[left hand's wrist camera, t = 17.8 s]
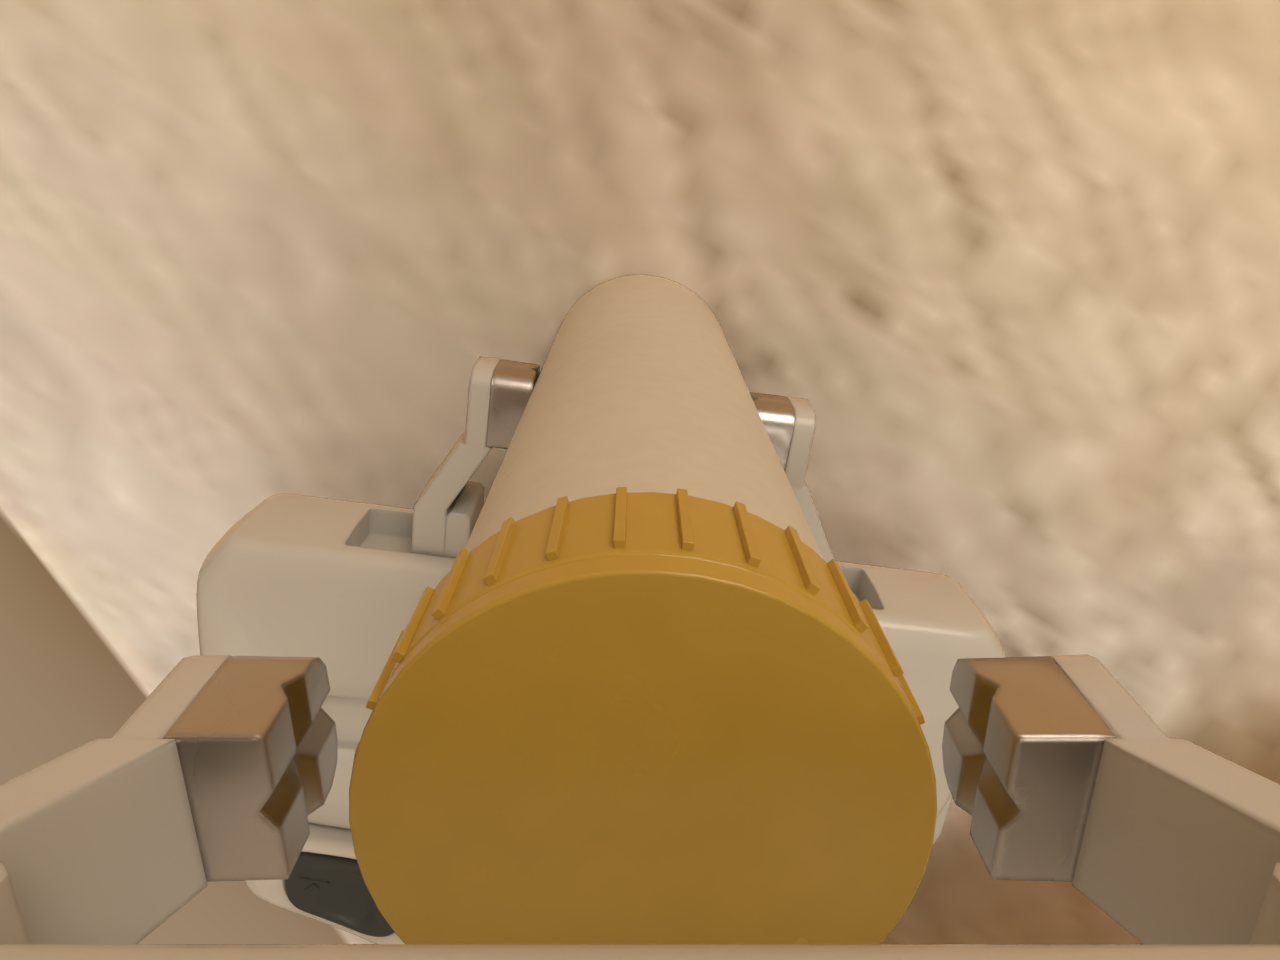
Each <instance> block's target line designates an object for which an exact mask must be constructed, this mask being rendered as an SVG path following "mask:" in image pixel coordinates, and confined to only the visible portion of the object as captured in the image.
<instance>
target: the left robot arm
mask: <svg viewBox="0 0 1280 960" xmlns="http://www.w3.org/2000/svg"><path fill="white" fill-rule="evenodd" d="M949 690H950V692H951V694H952V695H953V697H954V699H955V701H956V703H957V705H958V706H959V708H958V709H957V710H956V711H955V712H954V713H953V714H952V715H951V716H950V717H949V718H948V719H947V720H946V721H945V723H944V733H943V742H942V754H943V767H944V773H945V777H946V781H947V784H948V788H949V790H950V792H951V795H952V797H953V799H954V801H955V803H956V805H957V806H959V807H960V808H962V809H963V810H965V811H966V812H968V813H969V814H970V815H972V822H971V829H970V835H971V837H972V839H973V841H974V843H975V845H976V847H977V849H978V851H979V853H980V855H981V858H982V860H983V862H984V864H985V866H986V868H987V870H988V872H989V874H990V876H991V878H992V879H998V880H1034V881H1070V882H1073V883H1072V886H1074V887H1075V888H1076V889H1077V890H1079V891H1080V892H1081V893H1082V894H1083V895H1085V896H1086V897H1087V898H1088V899H1089V900H1091V901H1092V902H1093V903H1094V904H1095V905H1097V906H1098V907H1099V908H1100V909H1101V910H1103V911H1104V912H1105V913H1106V914H1107V915H1109V916H1110V917H1111V918H1112V919H1113V920H1115V921H1116V922H1117V923H1118V924H1119V925H1121V926H1122V927H1123V928H1124V929H1126V930H1127V931H1128V932H1129V933H1130V934H1132V935H1133V936H1134V937H1135V938H1136V939H1138V940H1139V941H1140V942H1141V943H1142V944H138V943H139V942H140V941H141V940H143V939H144V938H145V937H146V936H147V935H149V934H150V933H151V932H152V931H153V930H155V929H156V928H157V927H158V926H159V925H161V924H162V923H163V922H164V921H166V920H167V919H168V918H169V917H170V916H172V915H173V914H174V913H175V912H176V911H178V910H179V909H180V908H181V907H182V906H184V905H185V904H186V903H187V902H189V901H190V900H191V899H192V898H193V897H195V896H196V895H197V894H198V893H199V892H200V891H202V890H203V889H204V888H205V887H207V882H210V881H245V880H280V879H288V878H289V876H290V874H291V872H292V870H293V868H294V866H295V864H296V862H297V859H298V857H299V855H300V853H301V851H302V849H303V847H304V845H305V843H306V841H307V839H308V837H309V835H310V829H309V823H308V815H309V814H311V813H312V812H314V811H315V810H317V809H318V808H320V807H321V806H322V805H324V803H325V801H326V799H327V797H328V794H329V792H330V790H331V788H332V785H333V780H334V775H335V770H336V765H337V755H338V739H337V732H336V724H335V722H334V720H333V719H332V718H331V717H330V716H329V715H328V714H327V713H326V712H325V711H324V710H323V709H322V708H321V706H322V704H323V703H324V701H325V699H326V697H327V695H328V693H329V692H330V684H329V679H328V673H327V668H326V665H325V664H324V662H323V661H322V660H321V659H320V658H319V657H280V656H231V655H201V656H190V657H186V658H183V659H182V660H181V661H180V662H179V663H178V664H177V665H176V666H175V668H174V669H173V670H172V671H171V672H170V673H169V674H168V675H167V677H166V678H165V679H164V680H163V681H162V682H161V683H160V684H159V685H158V687H157V688H156V689H155V690H154V691H153V692H152V693H151V694H150V695H149V697H148V698H147V699H146V700H145V701H144V702H143V703H142V704H141V706H140V707H139V708H138V709H137V710H136V711H135V712H134V713H133V714H132V715H131V717H130V718H129V719H128V720H127V721H126V722H125V723H124V724H123V726H122V727H121V728H120V729H119V730H118V731H117V732H116V733H115V734H114V736H113V737H112V738H111V739H95V740H93V741H91V742H89V743H86V744H84V745H82V746H80V747H78V748H76V749H74V750H72V751H70V752H67V753H65V754H63V755H61V756H59V757H57V758H55V759H53V760H51V761H49V762H46V763H44V764H42V765H40V766H38V767H36V768H34V769H32V770H30V771H28V772H25V773H23V774H21V775H19V776H17V777H15V778H13V779H11V780H9V781H6V782H4V783H2V784H0V960H1280V785H1279V784H1277V783H1275V782H1273V781H1271V780H1269V779H1267V778H1265V777H1263V776H1261V775H1258V774H1256V773H1254V772H1252V771H1250V770H1248V769H1246V768H1244V767H1242V766H1240V765H1237V764H1235V763H1233V762H1231V761H1229V760H1227V759H1225V758H1223V757H1221V756H1219V755H1217V754H1214V753H1212V752H1210V751H1208V750H1206V749H1204V748H1202V747H1200V746H1198V745H1196V744H1193V743H1191V742H1189V741H1187V740H1185V739H1169V738H1168V737H1167V736H1166V735H1165V733H1164V732H1163V731H1162V730H1161V729H1160V728H1159V727H1158V726H1157V725H1156V723H1155V722H1154V721H1153V720H1152V719H1151V718H1150V717H1149V716H1148V715H1147V713H1146V712H1145V711H1144V710H1143V709H1142V708H1141V707H1140V706H1139V704H1138V703H1137V702H1136V701H1135V700H1134V699H1133V698H1132V697H1131V696H1130V694H1129V693H1128V692H1127V691H1126V690H1125V689H1124V688H1123V687H1122V686H1121V684H1120V683H1119V682H1118V681H1117V680H1116V679H1115V678H1114V677H1113V675H1112V674H1111V673H1110V672H1109V671H1108V670H1107V669H1106V668H1105V667H1104V665H1103V664H1102V663H1101V662H1100V661H1099V660H1098V659H1096V658H1094V657H1092V656H1089V655H1066V656H1044V657H1005V658H966V659H957V661H956V664H955V666H954V668H953V671H952V677H951V683H950V689H949Z"/></svg>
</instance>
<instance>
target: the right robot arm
mask: <svg viewBox="0 0 1280 960" xmlns="http://www.w3.org/2000/svg"><path fill="white" fill-rule="evenodd" d="M539 375H540V365H537V364H530V363H523V362H517V361H510V360H503V359H500V358H490V357H480V358H479V359H478V360H477V362H476V363H475V364H474V366H473V368H472V373H471V378H470V383H469V390H468V404H467V419H466V431H465V433H464V434H463V435H462V437H461V438H460V439H459V441H458V442H457V443H456V445H455V446H454V448H453V449H452V450H451V452H450V453H449V454H448V456H447V457H446V459H445V460H444V461H443V463H442V464H441V465H440V467H439V468H438V470H437V471H436V472H435V474H434V475H433V476H432V478H431V480H430V481H429V483H428V484H427V486H426V488H425V489H424V491H423V492H422V494H421V496H420V497H419V499H418V500H417V502H416V504H415V505H414V508H413V509H409V508H401V507H393V506H385V505H376V504H368V503H360V502H352V501H344V500H336V499H328V498H320V497H312V496H305V495H297V494H276V495H273V496H270V497H269V498H267V499H265V500H264V501H263V502H261V503H260V504H259V505H258V506H257V507H255V508H254V509H253V510H252V511H250V512H249V513H248V514H247V515H245V516H244V517H243V518H242V519H240V520H239V521H238V522H237V523H236V524H235V525H234V526H232V527H231V528H230V529H229V530H228V532H227V533H226V534H225V535H224V536H223V537H222V538H221V539H220V540H219V541H218V542H217V544H216V545H215V546H214V547H213V548H212V550H211V551H210V552H209V554H208V555H207V557H206V559H205V560H204V562H203V564H202V567H201V569H200V572H199V575H198V582H197V618H198V633H199V644H200V654H201V655H231V656H280V657H319V658H320V659H321V660H322V661H323V662H324V664H325V665H326V668H327V673H328V679H329V684H330V692H329V693H328V695H327V697H326V699H325V701H324V703H323V704H322V706H321V708H322V709H323V710H324V711H325V712H326V713H327V714H328V715H329V716H330V717H331V718H332V719H333V720H334V722H335V724H336V732H337V739H338V755H337V765H336V770H335V775H334V780H333V785H332V788H331V790H330V792H329V794H328V797H327V799H326V801H325V803H324V805H322V806H321V807H320V808H318V809H317V810H315V811H314V812H312V813H311V814H309V815H308V823H309V829H310V835H309V837H308V839H307V841H306V843H305V845H304V847H303V849H302V851H301V853H300V855H299V857H298V859H297V862H296V864H295V866H294V868H293V870H292V872H291V874H290V876H289V878H288V879H280V880H245V882H246V885H247V886H248V888H249V889H250V890H251V892H253V893H254V894H255V895H256V896H257V897H259V898H260V899H262V900H264V901H266V902H268V903H271V904H273V905H275V906H278V907H281V908H284V909H286V910H289V911H292V912H295V913H298V914H301V915H304V916H307V917H310V918H312V919H315V920H318V921H321V922H323V923H326V924H329V925H331V926H334V927H337V928H339V929H342V930H344V931H347V932H349V933H352V934H354V935H357V936H359V937H362V938H364V939H366V940H369V941H371V942H373V943H375V944H404V943H403V941H402V940H401V939H400V938H399V937H398V936H397V935H396V933H395V932H394V931H393V929H392V928H391V926H390V925H389V924H388V922H387V921H386V920H385V918H384V917H383V915H382V914H381V913H380V911H379V910H378V908H377V906H376V904H375V902H374V900H373V898H372V896H371V894H370V892H369V890H368V888H367V886H366V885H365V882H364V879H363V877H362V874H361V871H360V868H359V865H358V862H357V859H356V856H355V852H354V847H353V841H352V835H351V829H350V824H349V787H350V780H351V774H352V768H353V761H354V756H355V750H356V748H357V745H358V743H359V741H360V739H361V736H362V733H363V730H364V728H365V725H366V723H367V721H368V719H369V717H370V715H371V713H372V711H373V710H371V709H368V708H366V705H367V702H368V699H369V697H370V695H371V693H372V691H373V689H374V687H375V685H376V683H377V681H378V679H379V677H380V675H381V673H382V671H383V669H384V667H385V665H386V663H387V660H388V658H389V656H390V654H391V652H392V650H393V648H394V646H395V644H396V642H397V640H398V638H399V636H400V634H401V632H402V630H405V629H406V627H407V624H408V622H409V620H410V618H411V616H412V614H413V612H414V610H415V608H416V606H417V604H418V602H419V600H420V597H421V595H422V593H423V592H424V590H425V589H426V587H427V586H429V587H430V588H432V589H435V588H436V587H437V585H438V584H439V582H440V581H441V580H442V578H443V577H444V576H445V575H446V574H447V573H448V572H449V571H450V570H451V568H452V566H453V564H454V561H455V559H456V557H457V554H458V553H459V552H460V551H461V550H462V549H463V548H465V547H466V545H467V542H468V540H469V538H470V535H471V533H472V531H473V528H474V526H475V524H476V521H477V519H478V517H479V514H480V512H481V510H482V507H483V502H484V487H483V485H482V484H481V483H474V482H468V480H469V479H470V478H471V476H472V475H473V473H474V472H475V471H476V469H477V468H478V467H479V465H480V464H481V463H482V461H483V460H484V458H485V457H486V456H487V454H488V453H489V452H490V450H491V449H492V447H496V448H505V449H508V447H509V445H510V442H511V440H512V438H513V435H514V433H515V431H516V428H517V426H518V424H519V421H520V419H521V417H522V414H523V412H524V410H525V408H526V405H527V403H528V401H529V398H530V396H531V394H532V391H533V389H534V387H535V384H536V382H537V380H538V377H539ZM749 393H750V395H751V397H752V399H753V402H754V404H755V406H756V408H757V411H758V413H759V415H760V417H761V420H762V422H763V424H764V426H765V429H766V431H767V433H768V435H769V438H770V440H771V442H772V444H773V447H774V449H775V451H776V454H777V456H778V458H779V460H780V463H781V465H782V467H783V469H784V472H785V474H786V476H787V478H788V481H789V483H790V485H791V487H792V490H793V492H794V494H795V496H796V499H797V501H798V503H799V505H800V508H801V510H802V512H803V514H804V517H805V519H806V521H807V523H808V526H809V528H810V530H811V532H812V535H813V537H814V539H815V541H816V544H817V546H818V548H819V550H820V553H821V555H822V557H823V559H824V560H825V561H826V562H827V563H828V562H829V561H831V560H832V559H834V558H833V555H832V552H831V550H830V547H829V544H828V541H827V539H826V536H825V533H824V530H823V528H822V525H821V522H820V519H819V517H818V514H817V511H816V508H815V506H814V503H813V500H812V497H811V495H810V492H809V489H808V487H807V485H806V483H805V481H804V480H805V475H806V470H807V465H808V461H809V456H810V451H811V447H812V442H813V437H814V432H815V410H814V409H813V407H812V406H811V404H810V403H809V401H808V400H807V399H801V398H793V397H786V396H777V395H769V394H761V393H752V392H749ZM836 562H837V563H838V564H839V566H840V568H841V570H842V572H843V574H844V576H845V578H846V580H847V582H848V585H849V587H850V589H851V590H852V592H853V593H854V594H855V596H856V597H857V599H858V601H859V602H861V601H863V600H865V599H867V601H868V602H869V604H870V606H871V608H872V610H873V612H874V614H875V616H876V618H877V620H878V622H879V624H880V626H881V628H882V630H883V632H884V634H885V636H886V638H887V640H888V642H889V644H890V646H891V648H892V650H893V652H894V654H895V656H896V658H897V660H898V662H899V664H900V666H901V668H902V670H903V672H904V673H903V676H904V678H905V680H906V682H907V684H908V686H909V688H910V690H911V692H912V694H913V696H914V698H915V700H916V702H917V704H918V706H919V708H920V710H921V712H922V714H923V717H924V721H925V723H924V724H921V725H920V726H921V729H922V731H923V734H924V736H925V739H926V741H927V744H928V747H929V750H930V754H931V759H932V764H933V769H934V773H935V778H936V794H937V817H936V825H935V833H934V841H933V844H934V843H935V842H936V840H937V839H938V837H939V835H940V834H941V832H942V829H943V826H944V823H945V820H946V817H947V813H948V810H949V807H950V804H951V801H952V798H953V797H952V795H951V792H950V790H949V788H948V784H947V781H946V777H945V773H944V767H943V754H942V742H943V733H944V723H945V721H946V720H947V719H948V718H949V717H950V716H951V715H952V714H953V713H954V712H955V711H956V710H957V709H958V708H959V706H958V705H957V703H956V701H955V699H954V697H953V695H952V694H951V692H950V690H949V689H950V683H951V677H952V671H953V668H954V666H955V664H956V661H957V659H966V658H1005V657H1006V656H1005V653H1004V650H1003V647H1002V645H1001V643H1000V641H999V639H998V637H997V635H996V633H995V632H994V630H993V628H992V627H991V625H990V623H989V622H988V620H987V618H986V617H985V615H984V614H983V613H982V611H981V610H980V608H979V607H978V606H977V605H976V603H975V602H974V601H973V600H972V599H971V597H970V596H969V595H968V594H967V592H966V591H965V590H964V589H963V587H962V586H961V585H960V584H959V583H958V582H957V581H955V580H954V579H953V578H951V577H949V576H946V575H942V574H937V573H929V572H921V571H913V570H905V569H896V568H888V567H880V566H872V565H864V564H856V563H848V562H839V561H836Z"/></svg>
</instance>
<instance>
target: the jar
mask: <svg viewBox="0 0 1280 960" xmlns="http://www.w3.org/2000/svg"><path fill="white" fill-rule="evenodd" d="M617 487H627V493H634V492H658V493H668V494H676V492H677V489H678V488H679V489H686V490H687V492H688V496H693V497H698V498H702V499H706V500H711V501H715V502H720V503H724V504H727V505H729V506H732V507H734V504H735V502H736V501H737V502H740V503H743V504H745V506H746V510H747V512H749V513H751V514H754V515H757V516H759V517H760V518H762V519H764V520H766V521H768V522H770V523H772V524H774V525H776V526H778V527H780V528H782V529H784V530H785V529H786V528H787V527H788V526H791V527H793V528H794V529H796V530H797V532H798V535H799V537H800V540H801V542H803V543H804V544H806V545H807V546H809V547H810V548H811V549H813V550H814V551H815V552H816V553H817V554H818V555H819V556H820V557H821V558H822V559H823V557H822V555H821V553H820V550H819V548H818V546H817V544H816V541H815V539H814V537H813V535H812V532H811V530H810V528H809V526H808V523H807V521H806V519H805V517H804V514H803V512H802V510H801V508H800V505H799V503H798V501H797V499H796V496H795V494H794V492H793V490H792V487H791V485H790V483H789V481H788V478H787V476H786V474H785V472H784V469H783V467H782V465H781V463H780V460H779V458H778V456H777V454H776V451H775V449H774V447H773V444H772V442H771V440H770V438H769V435H768V433H767V431H766V429H765V426H764V424H763V422H762V420H761V417H760V415H759V413H758V411H757V408H756V406H755V404H754V402H753V399H752V397H751V395H750V393H749V390H748V388H747V386H746V384H745V381H744V379H743V377H742V375H741V372H740V370H739V368H738V366H737V363H736V361H735V359H734V357H733V354H732V352H731V350H730V348H729V345H728V343H727V341H726V339H725V336H724V334H723V332H722V330H721V327H720V325H719V323H718V321H717V319H716V318H715V316H714V314H713V313H712V311H711V310H710V309H709V307H708V306H707V305H706V304H705V303H704V302H703V301H702V300H701V299H700V298H699V297H698V296H697V295H696V294H694V293H693V292H692V291H690V290H689V289H688V288H686V287H684V286H682V285H680V284H679V283H676V282H674V281H671V280H669V279H665V278H661V277H657V276H650V275H630V276H623V277H619V278H616V279H612V280H609V281H607V282H605V283H602V284H600V285H598V286H597V287H595V288H593V289H592V290H590V291H589V292H587V293H586V294H585V295H584V296H583V297H581V298H580V299H579V300H578V301H577V302H576V303H575V305H574V306H573V307H572V308H571V309H570V311H569V312H568V314H567V315H566V317H565V319H564V320H563V322H562V324H561V326H560V329H559V331H558V333H557V335H556V338H555V340H554V342H553V345H552V347H551V349H550V352H549V354H548V356H547V359H546V361H545V363H544V366H543V368H542V370H541V373H540V375H539V377H538V380H537V382H536V384H535V387H534V389H533V391H532V394H531V396H530V398H529V401H528V403H527V405H526V408H525V410H524V412H523V414H522V417H521V419H520V421H519V424H518V426H517V428H516V431H515V433H514V435H513V438H512V440H511V442H510V445H509V447H508V449H507V452H506V454H505V456H504V459H503V461H502V463H501V466H500V468H499V470H498V473H497V475H496V477H495V480H494V482H493V484H492V487H491V489H490V491H489V493H488V496H487V498H486V500H485V503H484V505H483V507H482V510H481V512H480V514H479V517H478V519H477V521H476V524H475V526H474V528H473V531H472V533H471V535H470V538H469V540H468V542H467V545H466V547H465V548H466V549H467V550H468V551H469V552H470V551H472V550H473V549H474V548H476V547H477V546H478V545H480V544H481V543H482V542H483V541H485V540H486V539H487V538H489V537H490V536H492V535H494V534H495V533H497V532H499V531H500V530H501V527H502V524H503V522H504V521H505V520H507V519H508V518H510V517H512V518H513V519H514V521H515V522H516V521H518V520H520V519H522V518H525V517H527V516H530V515H532V514H535V513H537V512H539V511H542V510H544V509H547V508H549V507H552V506H556V504H557V499H558V498H562V497H565V496H567V497H568V500H569V502H570V501H574V500H578V499H581V498H586V497H593V496H600V495H607V494H614V493H616V489H617Z"/></svg>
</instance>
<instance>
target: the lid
mask: <svg viewBox="0 0 1280 960" xmlns="http://www.w3.org/2000/svg"><path fill="white" fill-rule="evenodd" d="M903 673H904V672H903V670H902V668H901V666H900V664H899V662H898V660H897V658H896V656H895V654H894V652H893V650H892V648H891V646H890V644H889V642H888V640H887V638H886V636H885V634H884V632H883V630H882V628H881V626H880V624H879V622H878V620H877V618H876V616H875V614H874V612H873V610H872V608H871V606H870V604H869V602H868V601H867V599H865V600H863V601H861V602H859V601H858V599H857V597H856V596H855V594H854V593H853V592H852V590H851V589H850V587H849V585H848V582H847V580H846V578H845V576H844V574H843V572H842V570H841V568H840V566H839V564H838V563H837V562H836V561H835V560H834V559H832V560H831V561H829V562H828V563H827V562H826V561H825V560H824V559H822V558H821V557H820V556H819V555H818V554H817V553H816V552H815V551H814V550H813V549H811V548H810V547H809V546H807V545H806V544H804V543H803V542H801V540H800V537H799V535H798V532H797V530H796V529H794V528H793V527H791V526H788V527H787V528H786V529H785V530H784V529H782V528H780V527H778V526H776V525H774V524H772V523H770V522H768V521H766V520H764V519H762V518H760V517H759V516H757V515H754V514H751V513H749V512H747V510H746V506H745V504H743V503H740V502H737V501H736V502H735V504H734V507H732V506H729V505H727V504H724V503H720V502H715V501H711V500H706V499H702V498H698V497H693V496H688V492H687V490H686V489H679V488H678V489H677V492H676V494H668V493H658V492H634V493H627V487H617V489H616V493H614V494H607V495H600V496H593V497H586V498H581V499H578V500H574V501H570V502H569V500H568V497H567V496H565V497H562V498H558V499H557V504H556V506H552V507H549V508H547V509H544V510H542V511H539V512H537V513H535V514H532V515H530V516H527V517H525V518H522V519H520V520H518V521H516V522H515V521H514V519H513V518H512V517H510V518H508V519H507V520H505V521H504V522H503V524H502V527H501V530H500V531H499V532H497V533H495V534H494V535H492V536H490V537H489V538H487V539H486V540H485V541H483V542H482V543H481V544H480V545H478V546H477V547H476V548H474V549H473V550H472V551H470V552H469V551H468V550H467V549H466V548H463V549H462V550H461V551H460V552H459V553H458V554H457V557H456V559H455V561H454V564H453V566H452V568H451V570H450V571H449V572H448V573H447V574H446V575H445V576H444V577H443V578H442V580H441V581H440V582H439V584H438V585H437V587H436V588H435V589H432V588H430V587H429V586H427V587H426V589H425V590H424V592H423V593H422V595H421V597H420V600H419V602H418V604H417V606H416V608H415V610H414V612H413V614H412V616H411V618H410V620H409V622H408V624H407V627H406V629H405V630H402V632H401V634H400V636H399V638H398V640H397V642H396V644H395V646H394V648H393V650H392V652H391V654H390V656H389V658H388V660H387V663H386V665H385V667H384V669H383V671H382V673H381V675H380V677H379V679H378V681H377V683H376V685H375V687H374V689H373V691H372V693H371V695H370V697H369V699H368V702H367V705H366V708H368V709H371V710H373V711H372V713H371V715H370V717H369V719H368V721H367V723H366V725H365V728H364V730H363V733H362V736H361V739H360V741H359V743H358V745H357V748H356V750H355V756H354V761H353V768H352V774H351V780H350V787H349V824H350V829H351V835H352V841H353V847H354V852H355V856H356V859H357V862H358V865H359V868H360V871H361V874H362V877H363V879H364V882H365V885H366V886H367V888H368V890H369V892H370V894H371V896H372V898H373V900H374V902H375V904H376V906H377V908H378V910H379V911H380V913H381V914H382V915H383V917H384V918H385V920H386V921H387V922H388V924H389V925H390V926H391V928H392V929H393V931H394V932H395V933H396V935H397V936H398V937H399V938H400V939H401V940H402V941H403V943H404V944H881V943H882V941H883V940H884V939H885V938H886V937H887V936H888V934H889V933H890V932H891V931H892V930H893V929H894V927H895V926H896V925H897V923H898V921H899V920H900V918H901V917H902V915H903V914H904V912H905V911H906V909H907V908H908V906H909V904H910V903H911V901H912V900H913V897H914V895H915V893H916V891H917V889H918V886H919V884H920V882H921V880H922V878H923V876H924V873H925V870H926V867H927V863H928V860H929V856H930V853H931V849H932V846H933V841H934V833H935V825H936V817H937V794H936V778H935V773H934V769H933V764H932V759H931V754H930V750H929V747H928V744H927V741H926V739H925V736H924V734H923V731H922V729H921V726H920V725H921V724H924V723H925V721H924V717H923V714H922V712H921V710H920V708H919V706H918V704H917V702H916V700H915V698H914V696H913V694H912V692H911V690H910V688H909V686H908V684H907V682H906V680H905V678H904V676H903Z"/></svg>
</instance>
